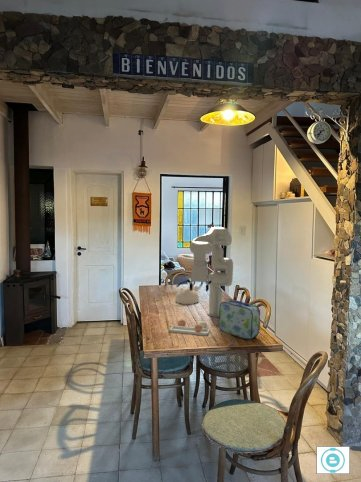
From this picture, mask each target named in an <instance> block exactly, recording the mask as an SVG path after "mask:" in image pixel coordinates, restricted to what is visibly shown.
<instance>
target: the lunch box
mask: <svg viewBox="0 0 361 482" xmlns="http://www.w3.org/2000/svg"><path fill="white" fill-rule="evenodd" d="M260 318H261V309H260V308H259V306H256V305H254V304H252V303H251V304H250V303H247V302H243V301H241V300H236V299H231V298H230V299H228V300H224V301H222V303H221V304H220V308H219V317H218V327H219V330H220V331H222V332H225V333H228V334H230V335H232V336H234V337H238V338H241V339H244V340H252V339H254V338H257V337H258V335H259V333H260V330H261V321H260V320H261V319H260Z"/></svg>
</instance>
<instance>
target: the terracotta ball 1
mask: <svg viewBox="0 0 361 482" xmlns="http://www.w3.org/2000/svg"><path fill="white" fill-rule="evenodd" d="M186 324H187V322H186V320H185V319H179V321H178V325H177V326H184V327H186Z"/></svg>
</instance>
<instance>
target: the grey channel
mask: <svg viewBox="0 0 361 482" xmlns="http://www.w3.org/2000/svg"><path fill="white" fill-rule="evenodd" d="M194 327H195V326H194ZM194 327H193V326H191V327H190V326H179V325H172V326H171V327H170V329H168V330H169V333H178V334H189V335H198V336H199V335H200V336H206V337H207V336H209V333H210V330H211V329H210V328H202V331H201V332H196V331H195V329H194Z"/></svg>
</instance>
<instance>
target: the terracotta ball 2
mask: <svg viewBox="0 0 361 482" xmlns="http://www.w3.org/2000/svg"><path fill="white" fill-rule="evenodd" d="M194 329H195V331H196V332H201V331H202V326H201V325H200V323H197V324H195V326H194Z"/></svg>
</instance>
